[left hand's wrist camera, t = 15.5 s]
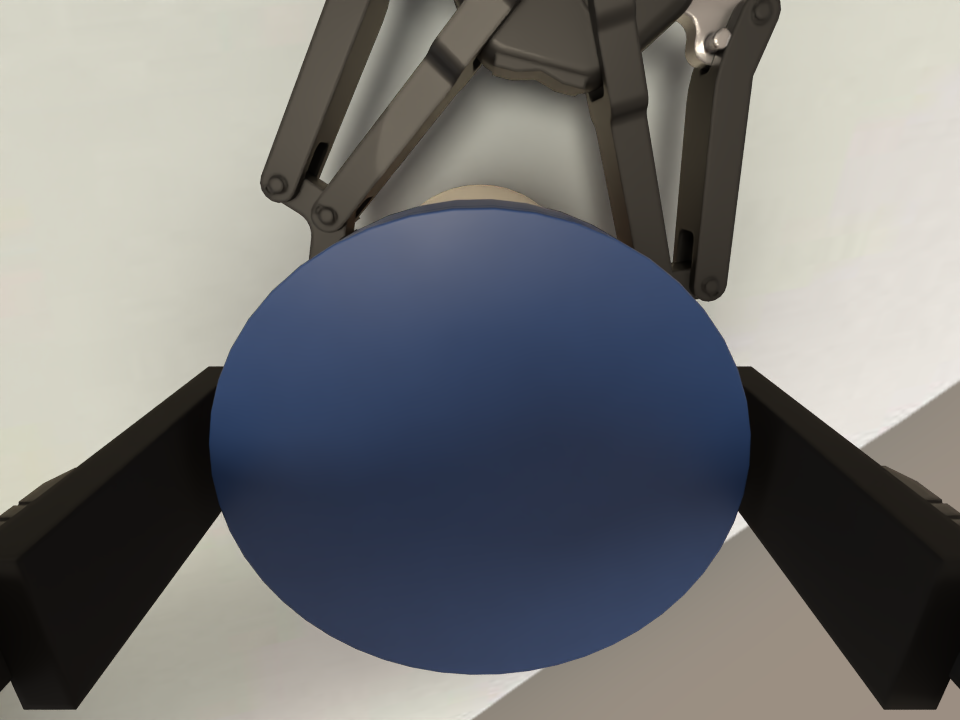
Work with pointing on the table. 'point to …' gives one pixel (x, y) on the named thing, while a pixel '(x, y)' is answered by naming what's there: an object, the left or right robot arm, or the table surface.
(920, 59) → the table surface
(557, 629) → the lid
